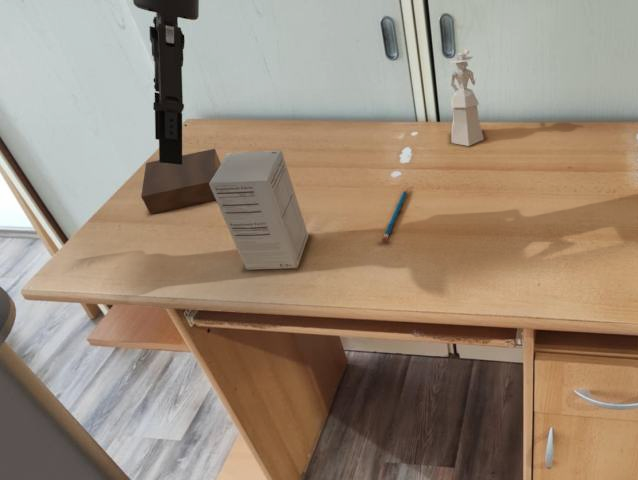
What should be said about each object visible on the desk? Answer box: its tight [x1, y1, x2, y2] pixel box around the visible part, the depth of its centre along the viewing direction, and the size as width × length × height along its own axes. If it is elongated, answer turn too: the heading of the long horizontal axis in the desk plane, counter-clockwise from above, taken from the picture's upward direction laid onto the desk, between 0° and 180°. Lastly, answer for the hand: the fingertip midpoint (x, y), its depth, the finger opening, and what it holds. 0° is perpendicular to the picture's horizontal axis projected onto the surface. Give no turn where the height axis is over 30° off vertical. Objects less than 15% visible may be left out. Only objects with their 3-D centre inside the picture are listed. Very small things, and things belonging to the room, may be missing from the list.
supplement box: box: [209, 150, 309, 270], centre depth 96 cm, size 10×9×17 cm
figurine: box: [449, 48, 485, 147], centre depth 120 cm, size 7×8×18 cm
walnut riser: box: [140, 148, 222, 215], centre depth 118 cm, size 14×14×4 cm
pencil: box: [381, 188, 408, 243], centre depth 107 cm, size 1×17×1 cm, turn 170°
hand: (168, 151), depth 83 cm, fingers open, 13 cm apart
